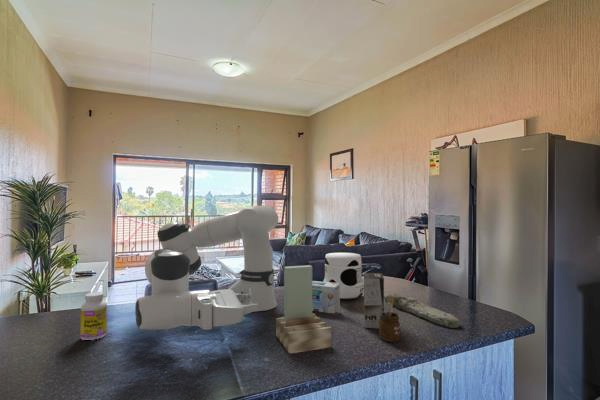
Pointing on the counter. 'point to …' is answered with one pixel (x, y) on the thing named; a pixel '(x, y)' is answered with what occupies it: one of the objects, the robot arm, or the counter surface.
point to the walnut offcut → (302, 321)
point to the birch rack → (303, 336)
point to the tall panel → (297, 292)
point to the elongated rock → (423, 310)
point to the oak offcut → (306, 327)
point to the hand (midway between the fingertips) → (254, 301)
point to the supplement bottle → (93, 317)
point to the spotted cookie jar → (345, 274)
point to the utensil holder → (389, 324)
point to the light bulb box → (325, 297)
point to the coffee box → (373, 299)
